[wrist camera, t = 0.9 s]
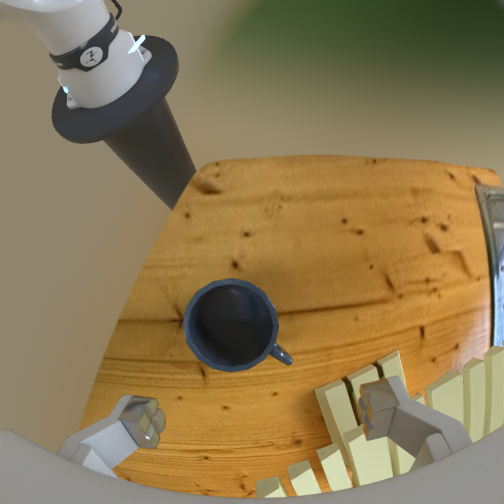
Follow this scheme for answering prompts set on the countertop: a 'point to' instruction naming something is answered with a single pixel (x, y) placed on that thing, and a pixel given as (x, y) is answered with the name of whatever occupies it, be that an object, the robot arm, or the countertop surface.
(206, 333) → the mug
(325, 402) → the slatted lounge chair
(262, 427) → the countertop surface
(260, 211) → the countertop surface
